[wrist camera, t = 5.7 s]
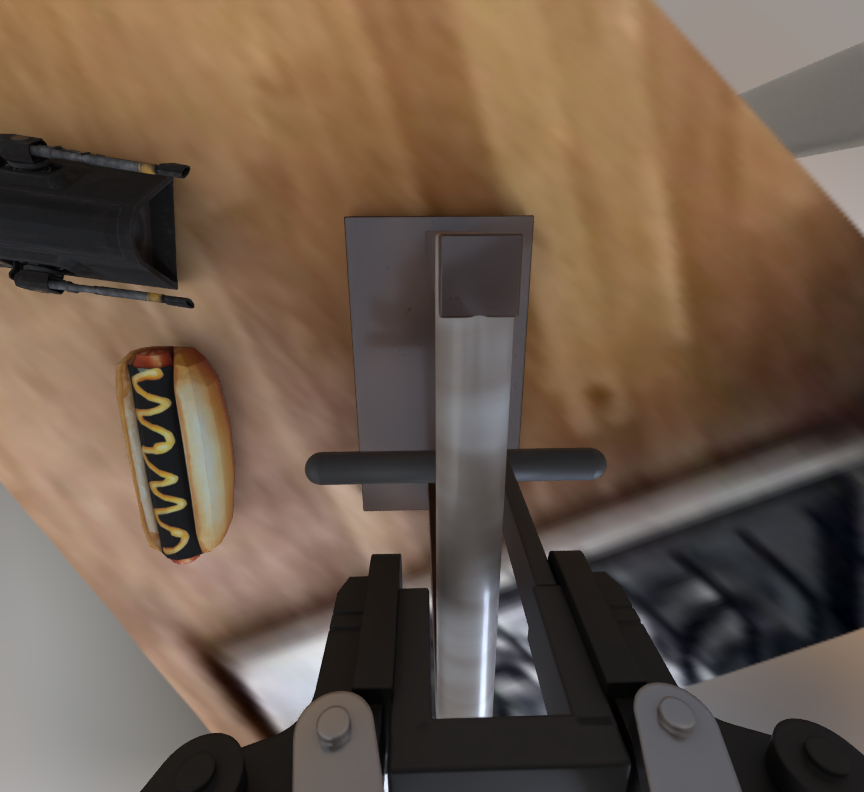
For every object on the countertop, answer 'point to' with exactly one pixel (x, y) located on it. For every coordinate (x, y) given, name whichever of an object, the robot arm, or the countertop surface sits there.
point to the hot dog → (177, 448)
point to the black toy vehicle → (86, 220)
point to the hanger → (549, 643)
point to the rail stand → (445, 408)
